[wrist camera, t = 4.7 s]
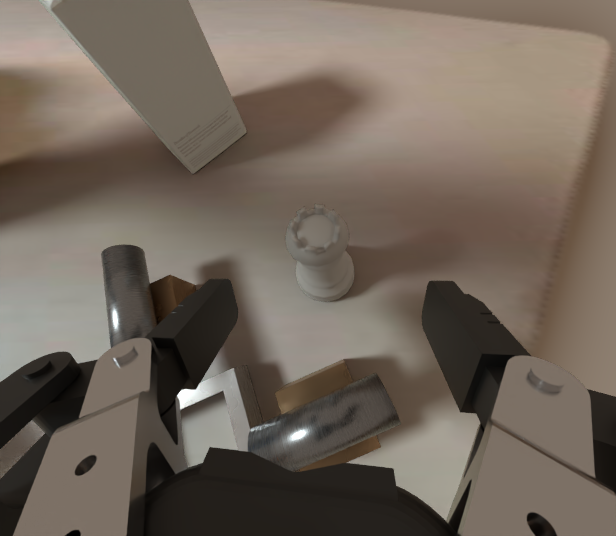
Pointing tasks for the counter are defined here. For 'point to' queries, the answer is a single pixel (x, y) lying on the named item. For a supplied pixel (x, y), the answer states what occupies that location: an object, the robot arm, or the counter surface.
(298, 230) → the rook chess piece
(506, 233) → the counter surface
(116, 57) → the supplement box
